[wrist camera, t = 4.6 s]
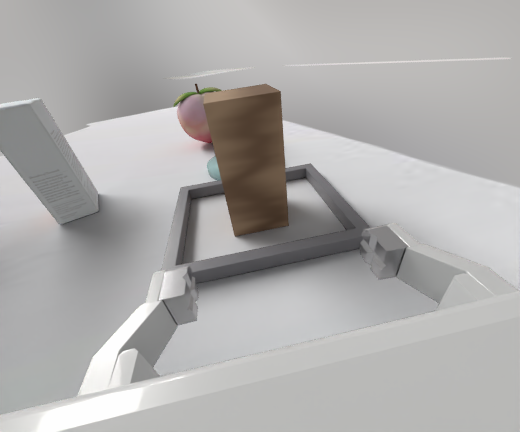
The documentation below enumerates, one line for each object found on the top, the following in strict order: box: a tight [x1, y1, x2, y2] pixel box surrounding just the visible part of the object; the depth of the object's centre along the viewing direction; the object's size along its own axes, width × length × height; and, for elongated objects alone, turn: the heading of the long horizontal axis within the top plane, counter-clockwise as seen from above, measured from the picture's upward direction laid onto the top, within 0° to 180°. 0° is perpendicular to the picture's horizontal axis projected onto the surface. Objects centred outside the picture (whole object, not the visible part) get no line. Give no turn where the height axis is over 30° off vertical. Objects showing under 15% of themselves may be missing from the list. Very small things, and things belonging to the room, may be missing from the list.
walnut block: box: [203, 84, 289, 236], centre depth 20 cm, size 5×5×11 cm
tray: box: [161, 164, 370, 283], centre depth 23 cm, size 16×14×1 cm
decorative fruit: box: [173, 84, 221, 143], centre depth 42 cm, size 9×8×10 cm
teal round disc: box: [207, 156, 221, 180], centre depth 33 cm, size 10×10×1 cm
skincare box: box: [0, 98, 99, 224], centre depth 26 cm, size 6×4×12 cm
